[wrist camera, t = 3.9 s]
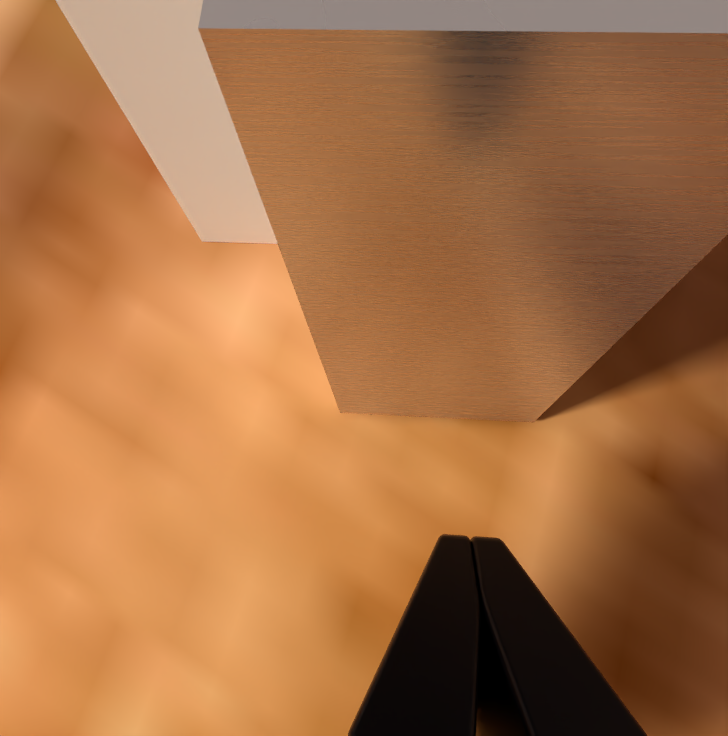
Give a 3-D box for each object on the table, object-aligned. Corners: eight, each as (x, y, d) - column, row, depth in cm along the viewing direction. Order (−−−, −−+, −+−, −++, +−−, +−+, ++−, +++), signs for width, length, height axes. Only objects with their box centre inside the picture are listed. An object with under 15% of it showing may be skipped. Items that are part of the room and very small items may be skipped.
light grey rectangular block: (533, 422, 15) (933, 34, 4) (340, 412, 16) (198, 27, 4) (526, 103, 18) (743, -642, 7) (364, 100, 19) (317, -616, 7)
